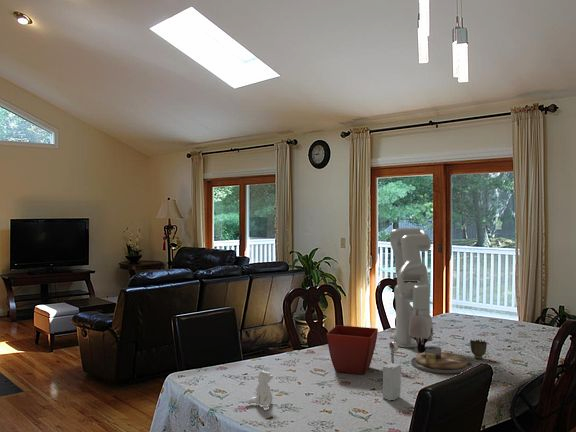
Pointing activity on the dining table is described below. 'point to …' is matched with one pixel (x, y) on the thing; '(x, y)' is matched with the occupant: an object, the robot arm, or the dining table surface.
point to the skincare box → (391, 381)
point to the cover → (433, 351)
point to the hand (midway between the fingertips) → (421, 352)
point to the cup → (478, 348)
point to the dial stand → (393, 347)
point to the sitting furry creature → (262, 390)
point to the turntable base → (439, 371)
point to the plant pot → (351, 348)
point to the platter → (442, 361)
